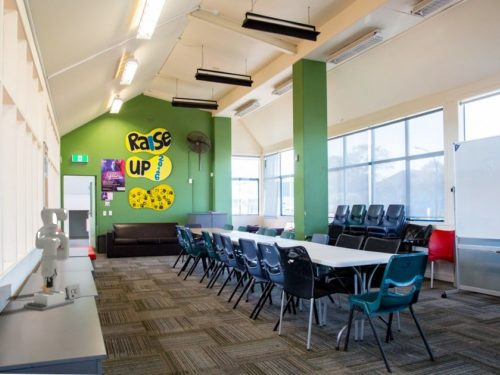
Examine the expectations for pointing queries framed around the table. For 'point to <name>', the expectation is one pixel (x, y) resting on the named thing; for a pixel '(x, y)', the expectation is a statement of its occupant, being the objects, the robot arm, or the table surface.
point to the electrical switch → (73, 291)
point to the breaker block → (48, 300)
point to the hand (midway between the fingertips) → (49, 287)
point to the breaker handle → (46, 288)
